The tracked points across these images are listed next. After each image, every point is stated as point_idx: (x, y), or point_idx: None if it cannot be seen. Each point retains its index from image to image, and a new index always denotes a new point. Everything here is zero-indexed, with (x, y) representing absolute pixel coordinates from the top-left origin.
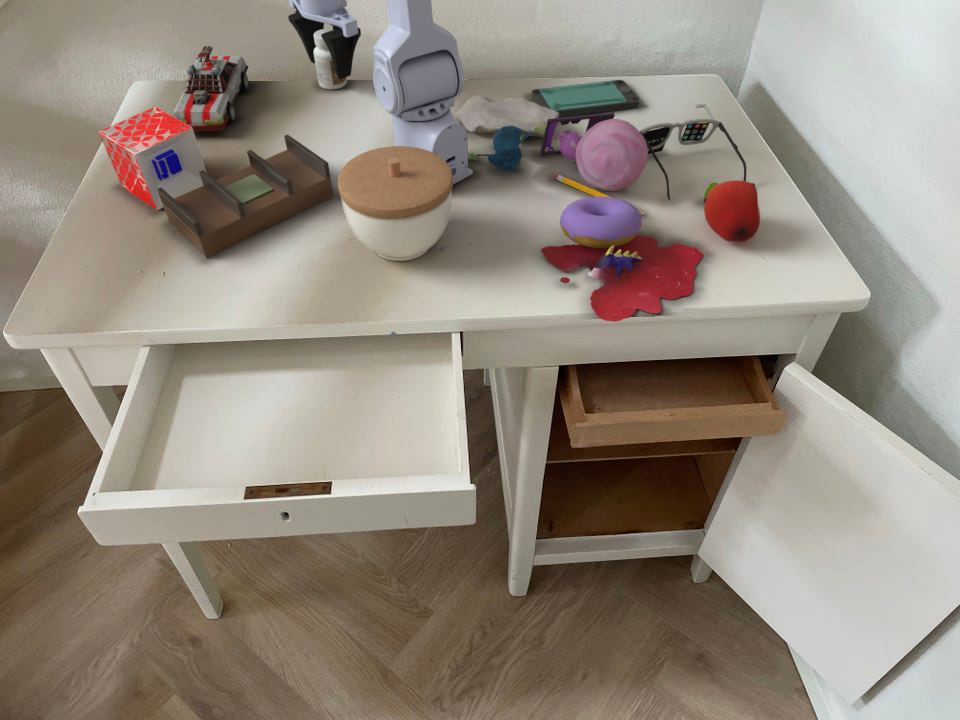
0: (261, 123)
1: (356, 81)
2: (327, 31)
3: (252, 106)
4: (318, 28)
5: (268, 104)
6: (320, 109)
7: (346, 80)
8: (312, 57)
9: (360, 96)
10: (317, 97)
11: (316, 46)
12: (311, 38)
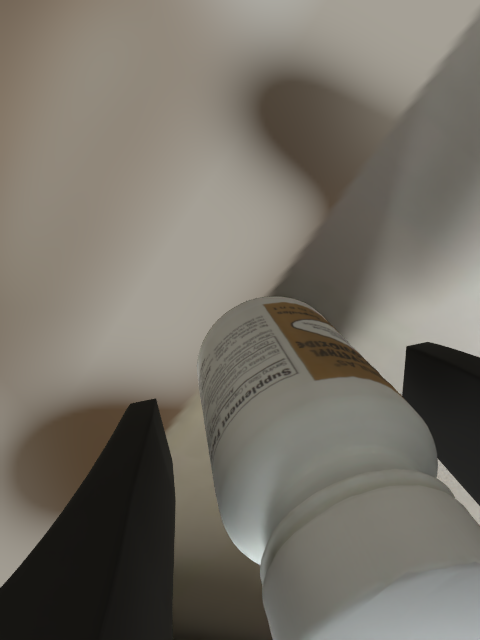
0: None
1: (316, 250)
2: (380, 628)
3: (239, 608)
4: (133, 630)
5: (258, 575)
6: None
7: (317, 311)
8: (172, 489)
9: (443, 301)
10: None
11: (260, 562)
12: (159, 605)
